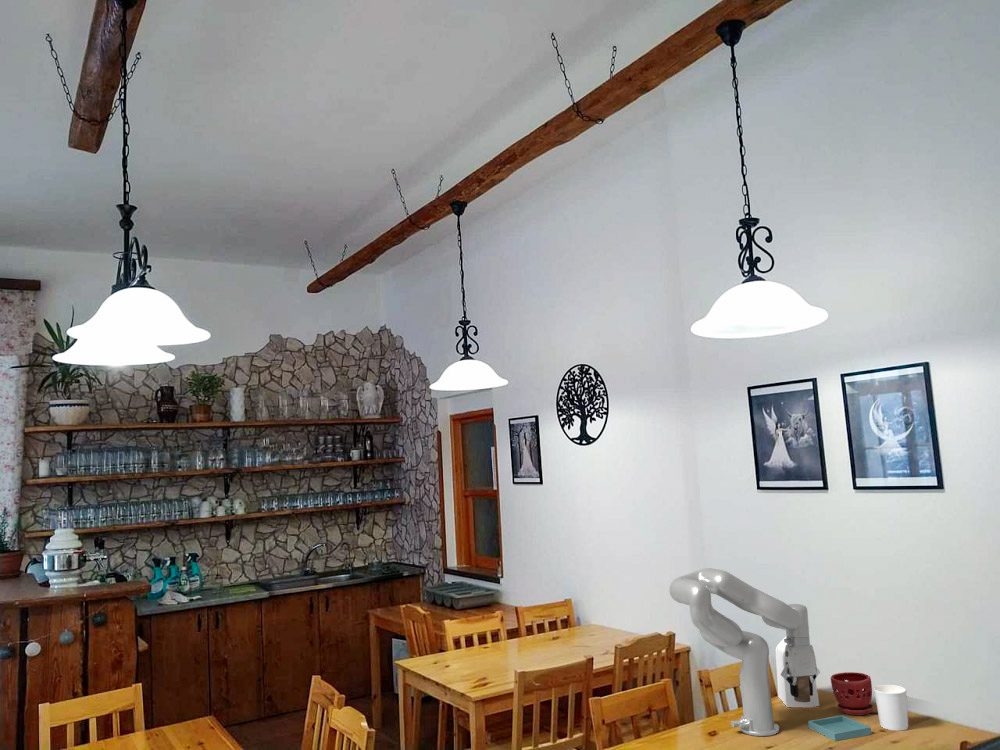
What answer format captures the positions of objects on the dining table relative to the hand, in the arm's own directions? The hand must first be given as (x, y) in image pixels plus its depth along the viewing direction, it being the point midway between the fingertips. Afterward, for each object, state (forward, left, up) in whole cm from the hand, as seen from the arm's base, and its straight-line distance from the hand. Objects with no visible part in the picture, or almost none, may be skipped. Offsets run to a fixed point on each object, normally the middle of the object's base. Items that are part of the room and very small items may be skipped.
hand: (802, 695), depth 269 cm
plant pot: (+20, 0, -9) cm, 22 cm away
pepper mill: (0, 0, -2) cm, 2 cm away
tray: (+3, -14, -8) cm, 16 cm away
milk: (+10, +17, -9) cm, 22 cm away
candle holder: (+21, -18, -9) cm, 29 cm away
